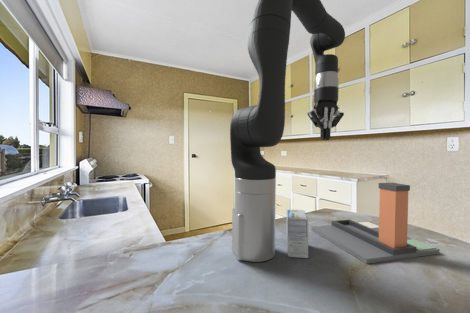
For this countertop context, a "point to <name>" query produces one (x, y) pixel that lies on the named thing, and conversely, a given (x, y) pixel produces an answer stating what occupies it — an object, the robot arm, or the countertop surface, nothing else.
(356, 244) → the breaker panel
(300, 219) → the medicine box
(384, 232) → the handle
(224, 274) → the countertop surface
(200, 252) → the countertop surface
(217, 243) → the countertop surface
